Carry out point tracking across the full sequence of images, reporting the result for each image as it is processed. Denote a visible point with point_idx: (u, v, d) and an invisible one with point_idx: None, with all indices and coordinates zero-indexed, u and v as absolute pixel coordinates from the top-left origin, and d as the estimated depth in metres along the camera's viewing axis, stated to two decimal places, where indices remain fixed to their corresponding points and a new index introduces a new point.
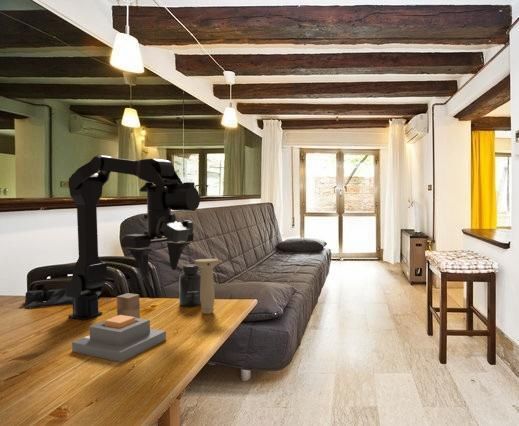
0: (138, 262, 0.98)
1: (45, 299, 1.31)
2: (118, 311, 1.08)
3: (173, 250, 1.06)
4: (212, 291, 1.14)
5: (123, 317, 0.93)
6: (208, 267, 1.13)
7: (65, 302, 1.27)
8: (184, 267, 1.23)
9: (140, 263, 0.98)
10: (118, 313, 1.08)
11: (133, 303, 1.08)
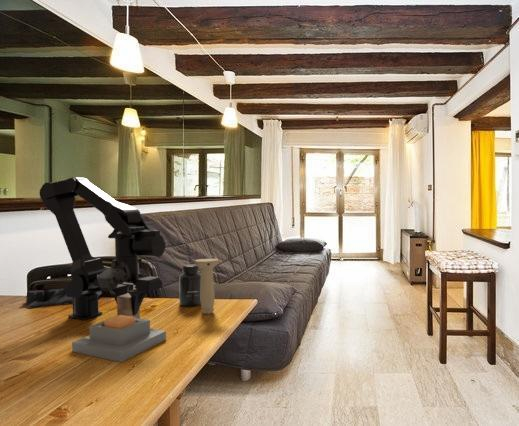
0: None
1: (46, 298, 1.31)
2: (118, 311, 1.08)
3: None
4: (212, 291, 1.14)
5: (123, 317, 0.93)
6: (208, 267, 1.13)
7: (66, 302, 1.28)
8: (184, 267, 1.23)
9: None
10: (118, 313, 1.08)
11: None
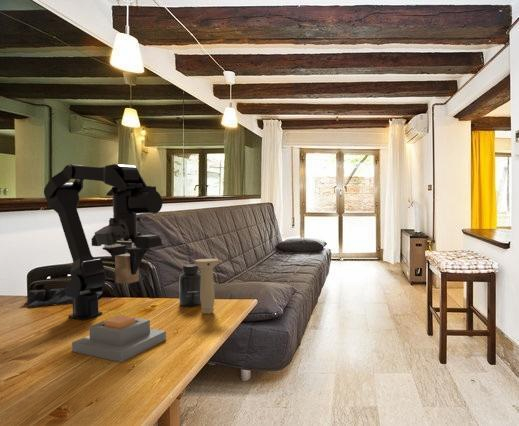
0: None
1: (47, 298, 1.32)
2: (116, 270, 1.05)
3: None
4: (212, 291, 1.14)
5: (123, 317, 0.93)
6: (208, 267, 1.13)
7: (67, 301, 1.28)
8: (184, 267, 1.23)
9: None
10: (116, 272, 1.05)
11: None
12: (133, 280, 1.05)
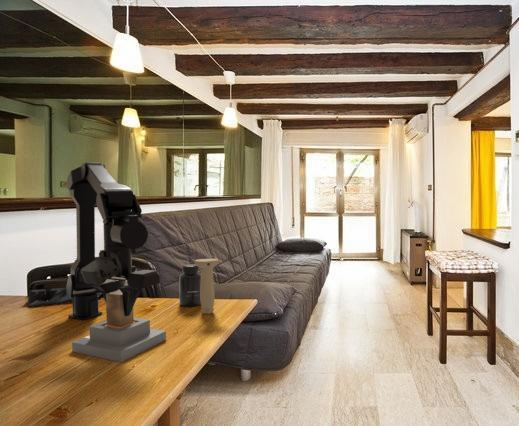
0: None
1: (48, 298, 1.32)
2: (107, 311, 0.90)
3: None
4: (212, 291, 1.14)
5: None
6: (208, 267, 1.13)
7: (67, 301, 1.28)
8: (184, 267, 1.23)
9: None
10: (107, 313, 0.90)
11: None
12: (127, 322, 0.91)
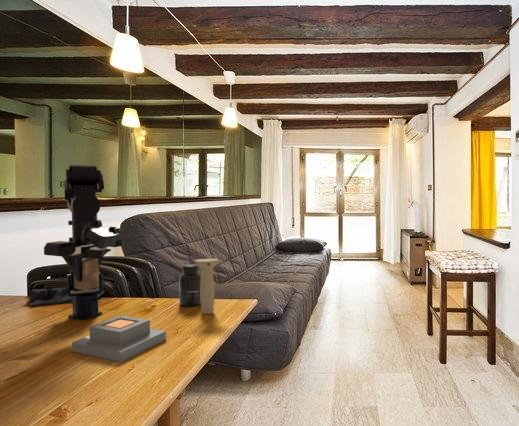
0: (71, 268, 0.98)
1: (49, 297, 1.33)
2: (87, 277, 0.99)
3: (93, 257, 1.03)
4: (212, 291, 1.14)
5: (123, 321, 0.93)
6: (208, 267, 1.13)
7: (68, 301, 1.29)
8: (184, 267, 1.23)
9: (73, 269, 0.98)
10: (87, 279, 0.99)
11: None
12: None
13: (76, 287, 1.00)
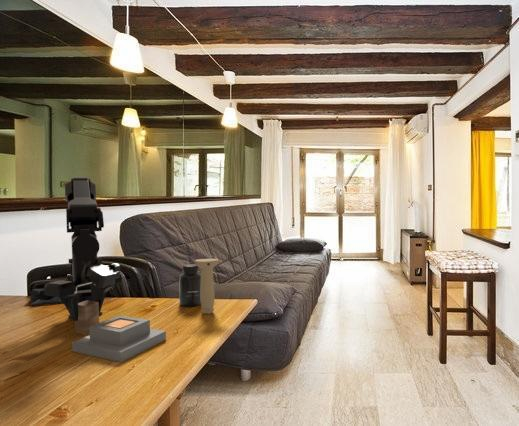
0: (67, 307, 0.98)
1: (50, 297, 1.33)
2: (87, 321, 0.99)
3: (97, 293, 1.05)
4: (212, 291, 1.14)
5: (123, 321, 0.93)
6: (208, 267, 1.13)
7: None
8: (184, 267, 1.23)
9: (70, 308, 0.98)
10: (87, 323, 0.99)
11: None
12: None
13: (76, 331, 1.00)
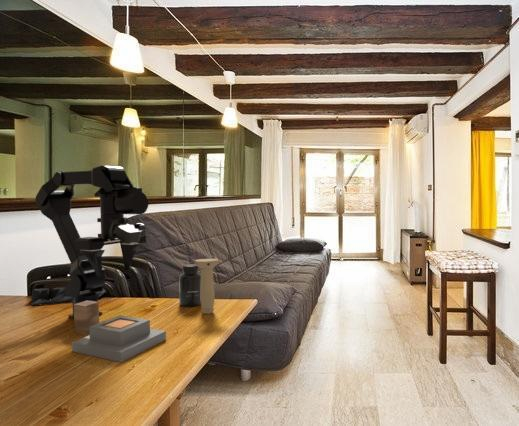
0: (92, 263, 1.04)
1: (51, 296, 1.34)
2: (87, 321, 0.99)
3: (126, 251, 1.12)
4: (212, 291, 1.14)
5: (123, 321, 0.93)
6: (208, 267, 1.13)
7: (70, 300, 1.30)
8: (184, 267, 1.23)
9: (94, 264, 1.03)
10: (87, 323, 0.99)
11: None
12: None
13: (76, 331, 1.00)
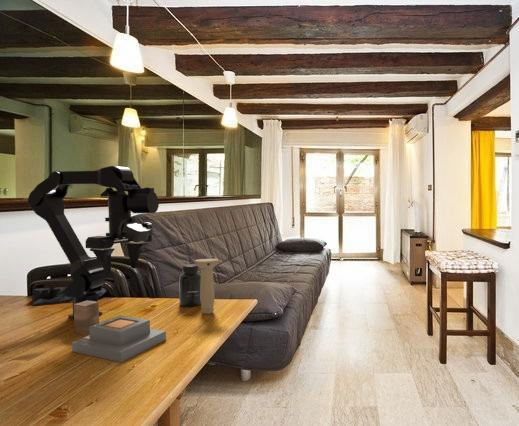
0: (101, 262, 1.06)
1: (52, 296, 1.34)
2: (87, 321, 0.99)
3: (133, 250, 1.15)
4: (212, 291, 1.14)
5: (123, 321, 0.93)
6: (208, 267, 1.13)
7: (70, 300, 1.30)
8: (184, 267, 1.23)
9: (103, 263, 1.05)
10: (87, 323, 0.99)
11: None
12: None
13: (76, 331, 1.00)
